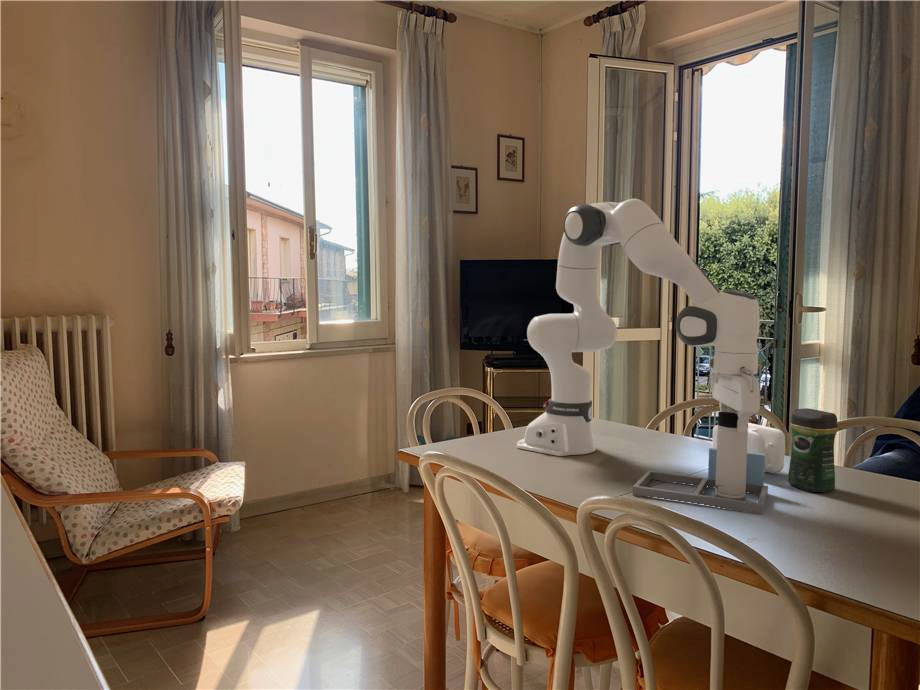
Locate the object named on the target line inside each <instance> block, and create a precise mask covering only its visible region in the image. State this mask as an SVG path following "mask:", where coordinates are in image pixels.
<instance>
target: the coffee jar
mask: <svg viewBox="0 0 920 690" xmlns="http://www.w3.org/2000/svg"><path fill="white" fill-rule="evenodd" d="M789 425H790V430H791V436H792V437H791V438H792V441H791V442H792V443H791V449H790V450H791V452H790V460H789V466H788V467H789V468H788V477H787V483H788V484H789V486H793V487H795V488H797V487H798V489H801V490H803V489H804V491H807V492H814V493H818V492H819V493H830V492H831V491H833V490H835V488H836V471H835V438H836V435H837V433H838V429H839V426H838V417H837V415H836V414H835V413H833V412H828V411H823V410H820V409H813V408H807V407H806V408H795V409H794V410H793V411H792V414H791V419H790V424H789Z"/></svg>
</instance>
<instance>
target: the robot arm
mask: <svg viewBox="0 0 920 690" xmlns="http://www.w3.org/2000/svg"><path fill="white" fill-rule="evenodd" d="M563 231H564V232H563V235H562V238H561V242H560V246H559V250H558V258H557V268H556V269H557V271H556V282H555V289H556V292H557V295H558V296H559V297H560V298H561V299H563V300H564V301H566V302H568V303H570V304H572V305H573V312H571V313H547V314H542V315H538V316H534V317H533V318H532V319H531V320H530V322H529V324H528V325H527V328H526V329H527V330H526V337H527V341H528V343H529V345H530V347H531V348H532V349H533V350H534V351H536V352H537V353H538V354H540V355H541V357H543V359H544V361H545V362H546V364H547V367H548V369H549V373H550V380H551V398H549V399H548V400H547V401H545V402H544V403H543V408H544V409H545V412H543V413H542V414H540V415H539V416H537V417H536V418H535V419H534V420H532V421H531V422H529V423H528V425H527V426H526V429H525V432H524V433H525V434H524V438H522V439H520V440H518V441H517V442H516V448H517V449H520V450H525V451H532V452H536V453H541V454H547V455H553V456H557V457H564V456H565V457H566V456H571V455H574V456H575V455H586V454H590V453H593V452H595V451H596V445H595V442H594V436H593V430H592V420H593V401H592V400H591V398H592V397H591V394H592V392H591V391H592V376H591V373H590V372H589V371H588V369H587V368H586V367H583V366H582V365H580V364H578V363H576V362H574V360H573V357H572V356H573V354H572V353H592V352H593V353H594V352H599V351H600V352H601V351H603V350H607V349H610V348H612V346H613V345H614V344H615V342H616V340H617V336H618V329H617V325H616V323H615V321H614V319H613V318H612V317H611V316H610V315H609V314H607V312H605V311H604V309H603V307H602V306H601V304H600V301H599V297H598V273H599V260H600V259H599V257H600V251H601V249H602V248H603V247H604V246H607V245H610V246H613V245H618V244H620V245H621V247H622V249H623V251H624V252H625V253H626V255H627V257H628V259H629V260H630V261H631V262H632V263H633V264H634V266H635V267H636V268H637V269H638V270H639V271H641V272H642V273H645V274H647V275H650V276H655V277H658V278H662V279H665V280H667V281H670V282H672V283H674V284H675V285H677V287H678V286H679V288H681V289H682V290H683V291H684V292H685V294H686V295H687V296H688V297H689V298H690V300H691V302H693V304H692V305H689V306H686V307H684V308H682V309H681V310H680V312H679V313H678V314H677V317H676V320H675V331H676V334H677V337H678V338H679V339H680V340H681V342H682V343H683V344H685V345H687V346H692V347H698V348H699V347H712V346H714V355H713V356H712V357H710V358H709V360H708V361H709V362H708V365H709V366H708V367H709V368H710V369H711V371H710V389H711V390H710V391H711V396H712V398H713V400H716V401H718V402H719V405H718V406H719V410H720V411H719V412H731V409H732V410H733V411H734V410H735V411H736V412H737V414H738V416H739V417H738V422H737V423H736V430H737V431H739V432H746V431H747V423H749V421H750V418H751V415H758V414H759V412H760V408H761V394H760V393H761V392H760V391H761V390H760V382H759V379H758V378H756V376H755V375H756V374H758V369H759V367H758V364H759V347H758V337H759V335H760V316H761V315H760V305H759V301H758V298H757V297H756V296H755V295H754V294H753V293H750V292H749V291H743V290H737V289H724V290H721V291H720V290H719V288H718V287H717V286H716V285H715V284H714V283H713V281H712V280H711V279H710V278H709V276H708V275H707V274H706V273H705V272H704V271H703V269H702V268H701V267H700V266H699V264H698V263H697V262H696V261H695V260H694V259H693V258H692V257H691V256H690V255H689V254H688V253H687V252H686V250H684V249H683V247H682V246H680V244H679V243H678V242H677V240H676V239H675V238H674V236H672V233H670V231H669V230H668V228H667V227H666V226H665V224H664V223H663V221H662V219H660V217H659V216H658V215H657V214H656V213H655V212H654V210H653V209H652V208H651V207H650V206H649V205H648V204H647V203H646V202H644V201H643V200H641V199H639V198H629V199H626V200H624V201H620V202H615V201H601V202H595V203H594V202H593V203H589V204H587V203H581V204H579V205H576V206H572V207H571V208H569V210H568V211H567V212H566V214H565V216H564V220H563Z"/></svg>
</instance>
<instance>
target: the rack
mask: <svg viewBox="0 0 920 690" xmlns="http://www.w3.org/2000/svg"><path fill="white" fill-rule="evenodd" d="M716 457H717V449H715V448H712V447H710V448H709V449H708V469H707V471H708V474H707V477H704V476H703V477H702V476H695V475H689V474H688V475H686V474H679V473H671V472H664V471H657V470H649V469H648V470H647V471H646V472H645V473H644V474H643V475H642V476H641V477H640V478H639V479H638V480H637V482H635V484H634V485H633V486H632V496H635V495H639V496H638V497H642V496H650V497H657V498H664V499H670V500H678V501H684V502H691V503H697V504H704V505H709V506H715V507H714V508H716V507H720V508H719V509H722V508H725V509H724V510H729V509H732V510H731V511H736V510H738V511H737V512H742V511H745V512H744V513H749V512H750V514H757V515H762V514H763V512H764V508H765V504H766V501H767V499H766V498H768V493H769V485H765V472H764V468H765V454H760V453H751V452H747V466H746V491H745V492H749V493H748V494H751V493H756V494H755V495H758V494H760V495H759V496H758V497H759V498H758V500H757V502H754V501H748V500H747V501H740V500H733V499H726V498H719V497H715V496H712V495H704V493H705V492H706V490H707V488H706V487H707V486H708V487H715V485H716ZM651 479H654V480H653V481H656V480H662V481H661V482H664V481H669V482H668V483H671V482H676V483H675V484H678V483H685V484H693V485H698V486H696V488H695V490H694V491H693V493H690V492H683V491H676V490H670V489H669V490H668V489H661V488H657V487H655V488H654V487H647V485H648V484H649V483H650V482H651V481H652V480H651ZM650 480H651V481H650ZM649 481H650V482H649ZM648 482H649V483H648ZM647 483H648V484H647ZM646 484H647V485H646ZM685 484H684V485H685ZM693 485H692V486H693ZM705 489H706V490H705ZM704 491H705V492H704ZM703 492H704V493H703ZM702 494H703V495H702ZM709 506H708V507H709Z"/></svg>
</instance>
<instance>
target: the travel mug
mask: <svg viewBox="0 0 920 690" xmlns="http://www.w3.org/2000/svg"><path fill="white" fill-rule="evenodd" d="M738 417H739V416H738V413H736V412H731V411H730V412H721V411H718V413H717V425H718V430H717V457H716V485H715V488H714V489H715V491H714V497H719V498H726V499H733V500H740V501H745V500H746V493H745V491H746V466H747V442H748V423H749V422H748V423H747V431H746V432H739V431H737V430H736V423H737V422H738Z"/></svg>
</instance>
